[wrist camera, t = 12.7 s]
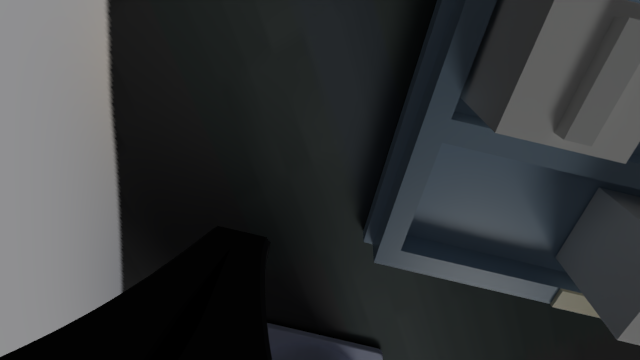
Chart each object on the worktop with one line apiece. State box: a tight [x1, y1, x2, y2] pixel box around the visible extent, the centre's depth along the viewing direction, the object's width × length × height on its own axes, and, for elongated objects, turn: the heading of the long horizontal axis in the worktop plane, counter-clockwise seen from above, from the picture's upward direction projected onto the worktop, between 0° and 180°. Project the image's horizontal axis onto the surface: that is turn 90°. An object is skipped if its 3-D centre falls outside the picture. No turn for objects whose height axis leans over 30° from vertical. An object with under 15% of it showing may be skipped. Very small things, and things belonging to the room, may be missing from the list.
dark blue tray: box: [363, 0, 640, 318], centre depth 16 cm, size 14×19×3 cm
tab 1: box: [460, 0, 640, 164], centre depth 12 cm, size 4×4×6 cm
